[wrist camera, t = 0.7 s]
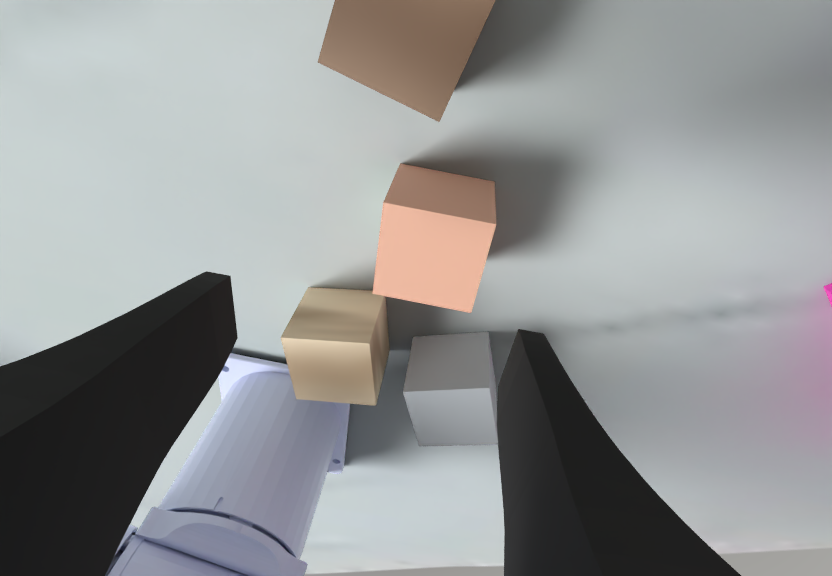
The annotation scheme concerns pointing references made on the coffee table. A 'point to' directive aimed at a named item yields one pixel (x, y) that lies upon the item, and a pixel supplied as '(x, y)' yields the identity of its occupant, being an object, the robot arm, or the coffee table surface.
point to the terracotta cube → (434, 237)
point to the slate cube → (452, 390)
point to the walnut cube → (405, 46)
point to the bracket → (829, 292)
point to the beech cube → (338, 346)
